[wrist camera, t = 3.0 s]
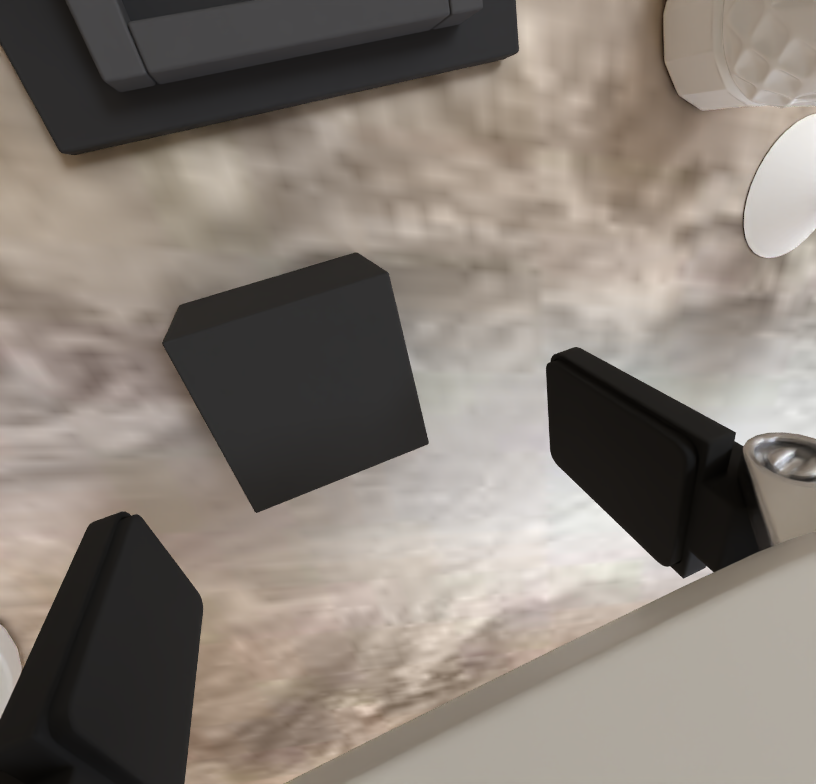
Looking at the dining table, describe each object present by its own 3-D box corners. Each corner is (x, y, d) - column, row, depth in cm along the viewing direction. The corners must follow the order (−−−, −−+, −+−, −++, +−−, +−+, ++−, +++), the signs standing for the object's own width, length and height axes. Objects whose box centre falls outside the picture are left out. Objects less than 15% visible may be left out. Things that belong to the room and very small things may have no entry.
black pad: (252, 451, 18) (255, 514, 15) (178, 304, 15) (160, 342, 11) (396, 397, 19) (429, 444, 16) (357, 251, 16) (388, 271, 13)
